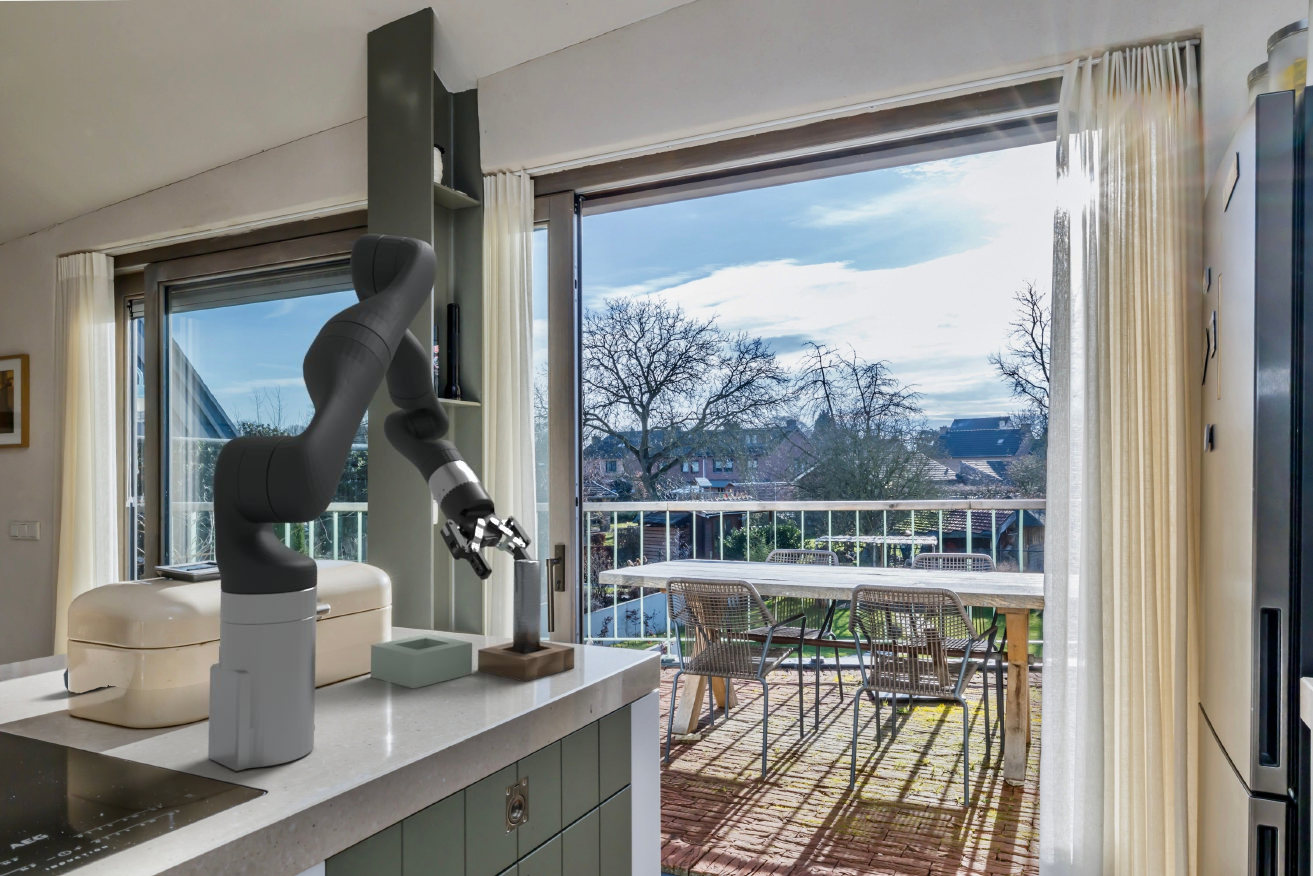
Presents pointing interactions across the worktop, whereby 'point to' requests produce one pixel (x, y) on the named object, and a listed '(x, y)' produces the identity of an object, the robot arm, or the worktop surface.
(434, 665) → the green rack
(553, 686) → the worktop surface
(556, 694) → the worktop surface
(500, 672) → the walnut socket
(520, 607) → the ball
